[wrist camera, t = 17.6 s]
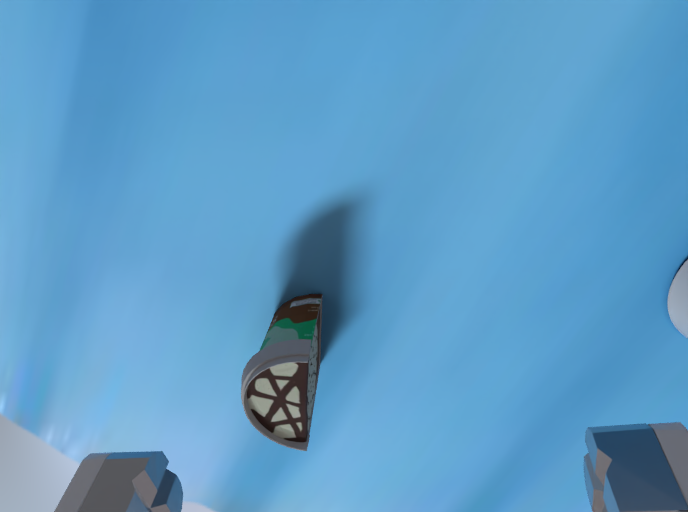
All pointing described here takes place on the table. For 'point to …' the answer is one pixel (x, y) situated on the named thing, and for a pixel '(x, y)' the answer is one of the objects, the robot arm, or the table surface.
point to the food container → (286, 374)
